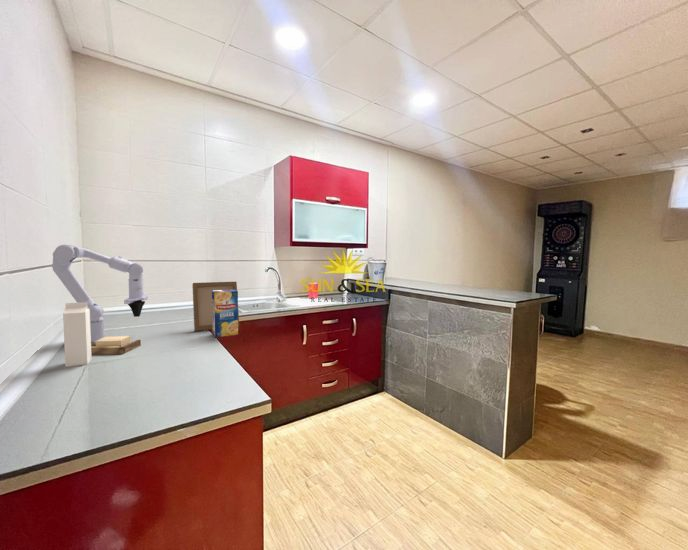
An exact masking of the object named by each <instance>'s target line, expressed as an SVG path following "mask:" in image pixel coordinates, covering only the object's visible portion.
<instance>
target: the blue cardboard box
mask: <svg viewBox="0 0 688 550" xmlns="http://www.w3.org/2000/svg"><path fill="white" fill-rule="evenodd" d="M238 312H239V291H238V289H237V290H215V291H212V329H211V330H212V333H211V334H212V335H213V337H214V338H221V337H222V338H223V337H231V336H237V335H239V326H238Z"/></svg>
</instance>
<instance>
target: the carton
mask: <svg viewBox="0 0 688 550" xmlns="http://www.w3.org/2000/svg"><path fill="white" fill-rule="evenodd" d="M129 343H131V335H111V336H110V335H109V336H104V338H101V339H100V340H98V341H96V346H120V347H122V346H124V345H126V344H129Z"/></svg>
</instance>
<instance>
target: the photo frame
mask: <svg viewBox="0 0 688 550" xmlns="http://www.w3.org/2000/svg"><path fill="white" fill-rule="evenodd" d="M215 290H237V291H238V283H237V281H214V282H193V283H192V303H193V304H192V309H193V329H194V330H193V331H194V332H195V331H206V330H207V331H208V330H212V291H215ZM238 327H240V315H239V311H238Z"/></svg>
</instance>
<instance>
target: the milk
mask: <svg viewBox="0 0 688 550" xmlns="http://www.w3.org/2000/svg"><path fill="white" fill-rule="evenodd" d="M62 322H63V343H64V345H63V346H64V365H65V368H68V367H76V366H85V365H88V364H89V363H90V362H91V360H92V354H91V344H92V342H91V332H90V310H89V308H88V307H87V302H83V303H77V302H67V303H65V308H64V311H63V313H62Z"/></svg>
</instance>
